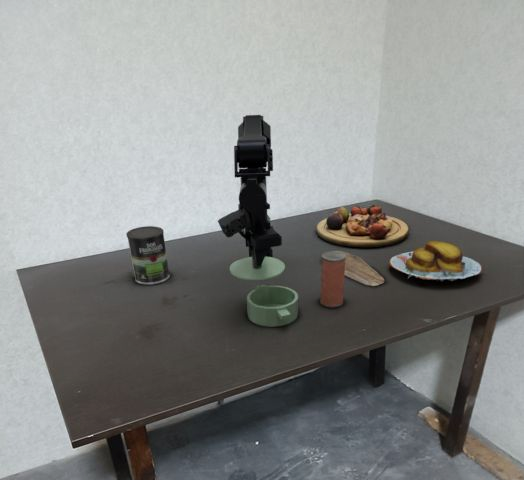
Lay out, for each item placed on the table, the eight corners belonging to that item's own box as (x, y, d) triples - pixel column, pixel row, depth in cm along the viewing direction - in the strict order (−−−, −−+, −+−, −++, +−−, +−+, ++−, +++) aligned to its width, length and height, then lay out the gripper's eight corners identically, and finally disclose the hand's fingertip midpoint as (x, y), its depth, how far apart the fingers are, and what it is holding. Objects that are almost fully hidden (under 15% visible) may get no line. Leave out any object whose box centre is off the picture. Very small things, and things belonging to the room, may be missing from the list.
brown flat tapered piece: (396, 279, 137) (397, 275, 136) (369, 290, 133) (369, 287, 133) (339, 250, 156) (339, 247, 155) (314, 260, 152) (313, 256, 151)
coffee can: (174, 280, 142) (168, 233, 135) (140, 287, 138) (131, 240, 131) (164, 268, 150) (157, 223, 142) (131, 275, 146) (122, 229, 138)
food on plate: (372, 274, 141) (374, 252, 137) (414, 249, 156) (416, 229, 152) (457, 298, 126) (462, 274, 122) (494, 268, 141) (499, 247, 137)
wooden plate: (418, 247, 157) (422, 222, 152) (320, 250, 158) (321, 225, 153) (396, 217, 184) (399, 195, 179) (313, 220, 185) (313, 198, 180)
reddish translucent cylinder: (317, 305, 125) (318, 258, 118) (324, 295, 130) (326, 249, 123) (338, 309, 123) (341, 261, 116) (346, 299, 128) (349, 253, 121)
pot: (261, 336, 113) (260, 317, 111) (238, 303, 128) (237, 286, 125) (310, 325, 117) (310, 307, 114) (283, 295, 131) (282, 278, 128)
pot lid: (239, 287, 112) (238, 264, 109) (223, 265, 122) (221, 244, 119) (293, 276, 115) (293, 254, 112) (273, 256, 126) (272, 236, 123)
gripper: (209, 193, 115) (215, 255, 123) (232, 215, 100) (237, 284, 108) (253, 187, 118) (256, 248, 126) (282, 208, 103) (283, 275, 111)
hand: (257, 263), depth 118 cm, fingers closed on pot lid, 2 cm apart
